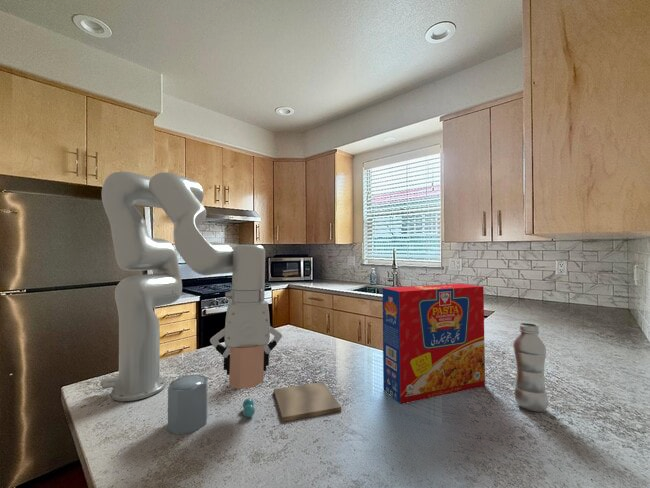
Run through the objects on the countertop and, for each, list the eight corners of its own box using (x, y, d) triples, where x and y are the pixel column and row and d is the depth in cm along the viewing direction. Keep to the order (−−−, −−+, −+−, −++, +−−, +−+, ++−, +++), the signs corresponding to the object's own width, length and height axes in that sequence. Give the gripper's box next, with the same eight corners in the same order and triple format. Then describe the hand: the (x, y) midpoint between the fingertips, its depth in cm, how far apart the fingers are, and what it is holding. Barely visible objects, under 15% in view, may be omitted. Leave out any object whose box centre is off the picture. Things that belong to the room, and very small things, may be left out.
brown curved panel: (282, 421, 66) (282, 417, 66) (273, 393, 79) (273, 389, 79) (341, 411, 70) (341, 406, 70) (323, 385, 83) (323, 381, 83)
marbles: (243, 420, 66) (243, 408, 66) (242, 407, 71) (242, 397, 71) (255, 418, 67) (255, 407, 67) (253, 406, 72) (253, 395, 72)
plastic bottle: (550, 419, 66) (548, 329, 67) (514, 410, 70) (512, 325, 70) (547, 406, 72) (545, 323, 72) (514, 398, 75) (512, 320, 76)
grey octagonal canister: (165, 436, 60) (165, 392, 61) (172, 416, 68) (172, 377, 68) (205, 429, 63) (205, 387, 63) (208, 411, 70) (208, 373, 70)
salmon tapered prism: (229, 390, 65) (230, 349, 65) (229, 375, 72) (230, 338, 72) (264, 386, 67) (265, 346, 67) (261, 372, 74) (261, 336, 74)
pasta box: (400, 404, 73) (399, 291, 74) (383, 390, 80) (382, 287, 81) (485, 386, 82) (483, 286, 83) (462, 374, 90) (461, 283, 91)
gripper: (207, 300, 64) (205, 382, 63) (287, 297, 69) (285, 373, 69) (210, 294, 71) (208, 368, 70) (282, 293, 76) (280, 361, 76)
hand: (246, 370), depth 70 cm, fingers closed on salmon tapered prism, 7 cm apart
